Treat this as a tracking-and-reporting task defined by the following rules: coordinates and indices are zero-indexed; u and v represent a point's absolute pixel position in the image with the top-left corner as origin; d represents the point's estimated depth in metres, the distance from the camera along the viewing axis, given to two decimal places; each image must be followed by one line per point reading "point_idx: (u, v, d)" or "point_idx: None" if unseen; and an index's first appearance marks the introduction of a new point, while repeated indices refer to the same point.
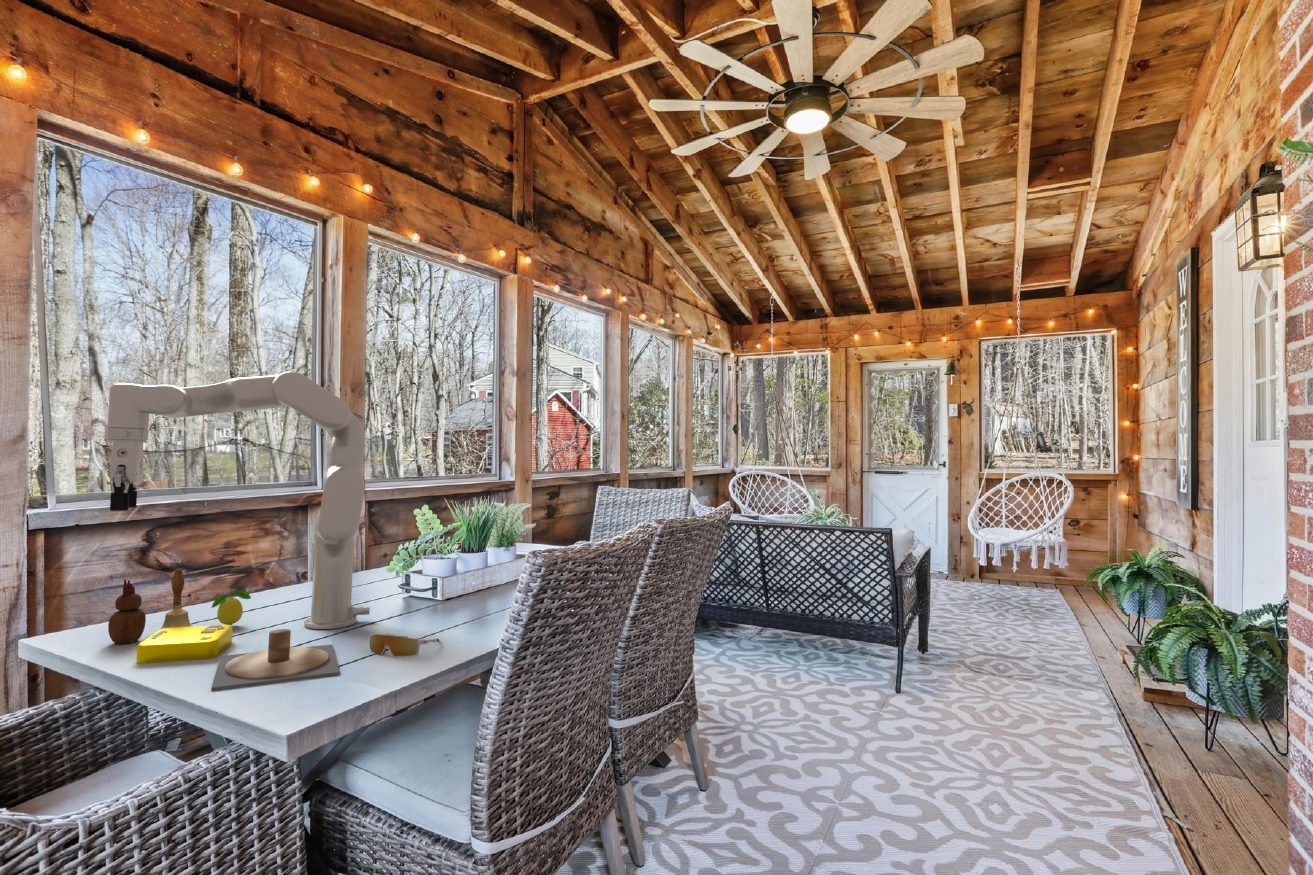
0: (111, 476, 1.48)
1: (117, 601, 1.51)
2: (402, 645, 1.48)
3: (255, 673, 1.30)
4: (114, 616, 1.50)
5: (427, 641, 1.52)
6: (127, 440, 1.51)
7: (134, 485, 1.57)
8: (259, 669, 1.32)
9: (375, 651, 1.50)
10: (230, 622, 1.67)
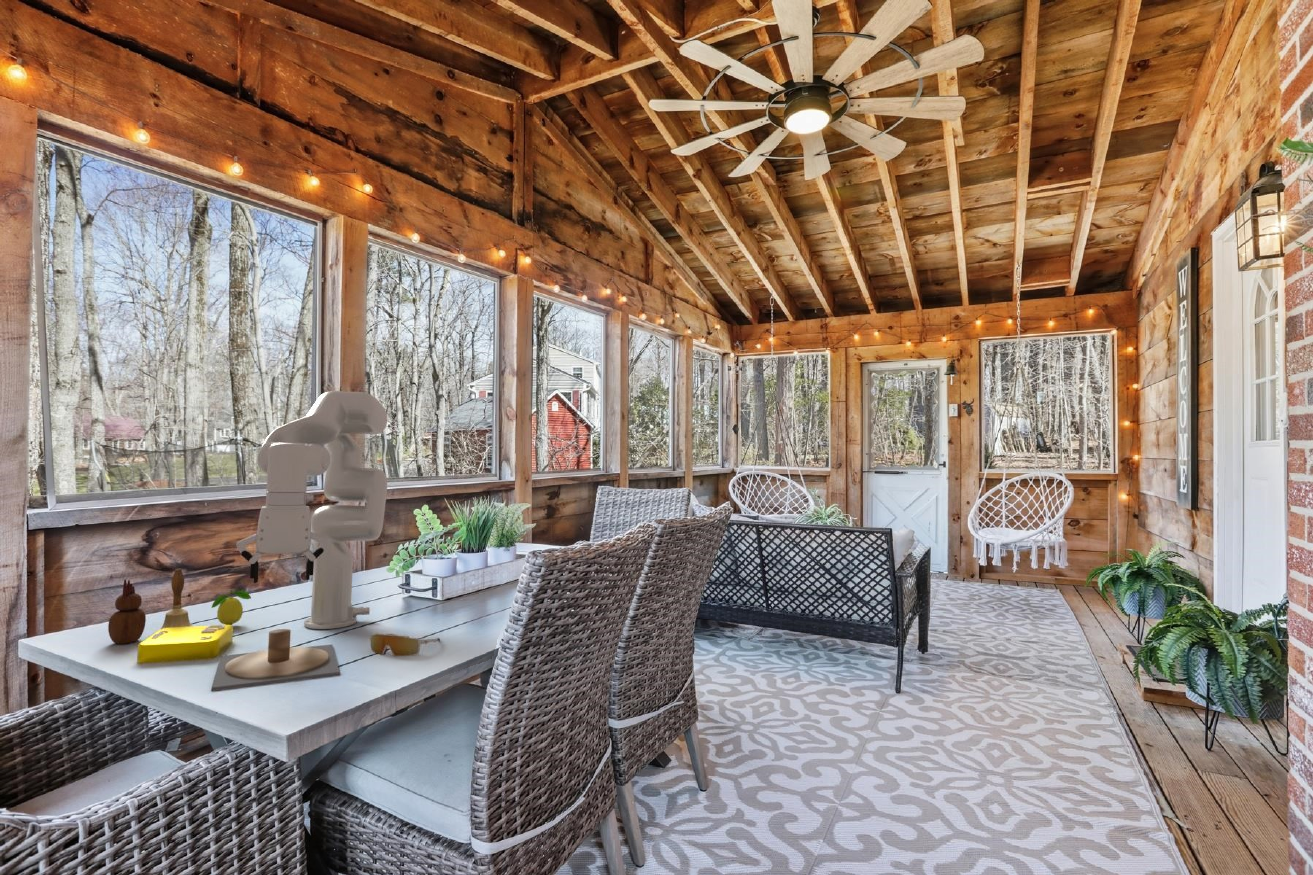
0: (309, 544, 1.41)
1: (117, 601, 1.51)
2: (403, 644, 1.49)
3: (255, 673, 1.30)
4: (114, 616, 1.50)
5: (428, 641, 1.53)
6: (305, 504, 1.42)
7: None
8: (259, 669, 1.32)
9: (376, 651, 1.50)
10: (230, 622, 1.67)
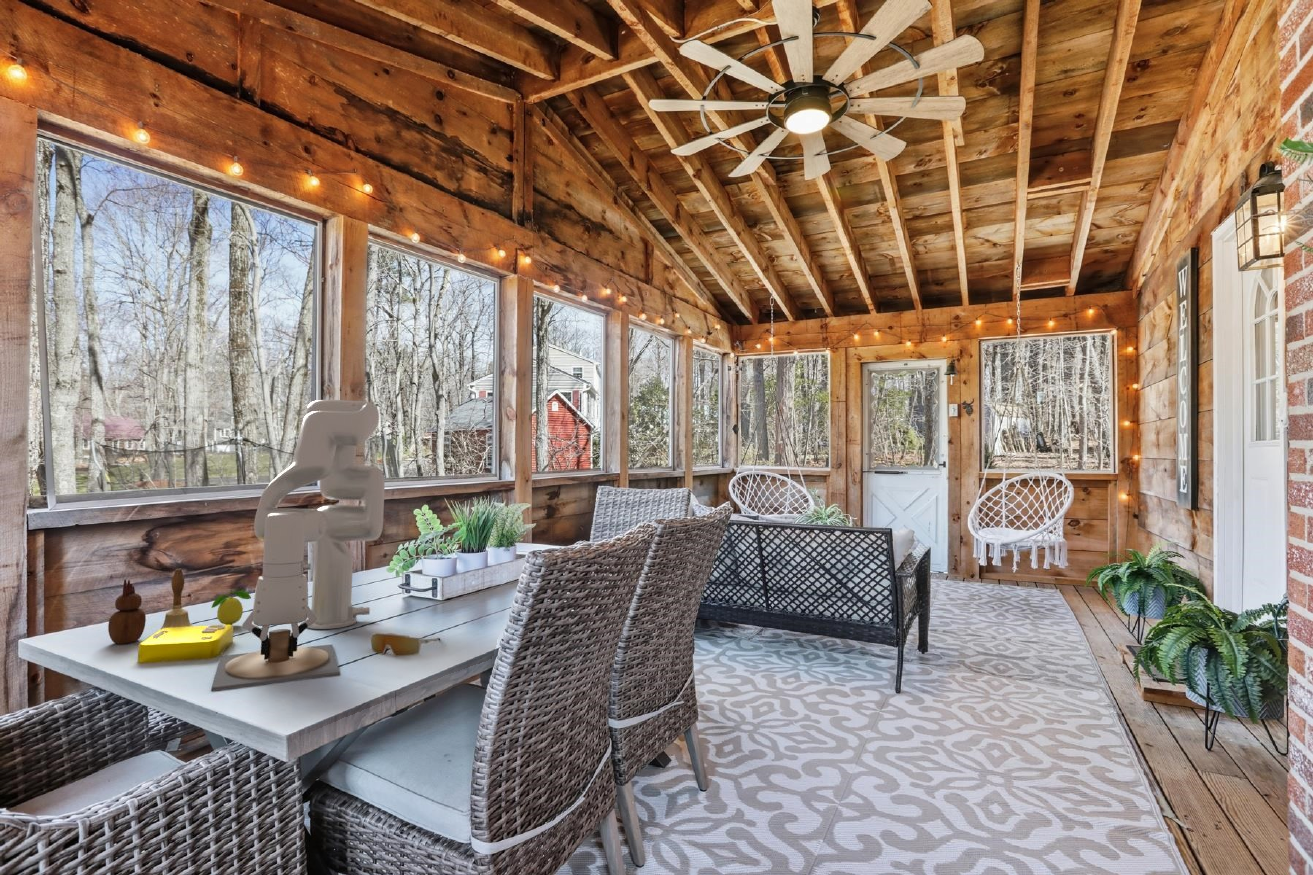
0: (306, 613, 1.40)
1: (117, 601, 1.51)
2: (404, 644, 1.49)
3: (255, 673, 1.30)
4: (114, 616, 1.50)
5: (428, 640, 1.53)
6: None
7: None
8: (259, 669, 1.32)
9: (376, 650, 1.50)
10: (230, 622, 1.67)
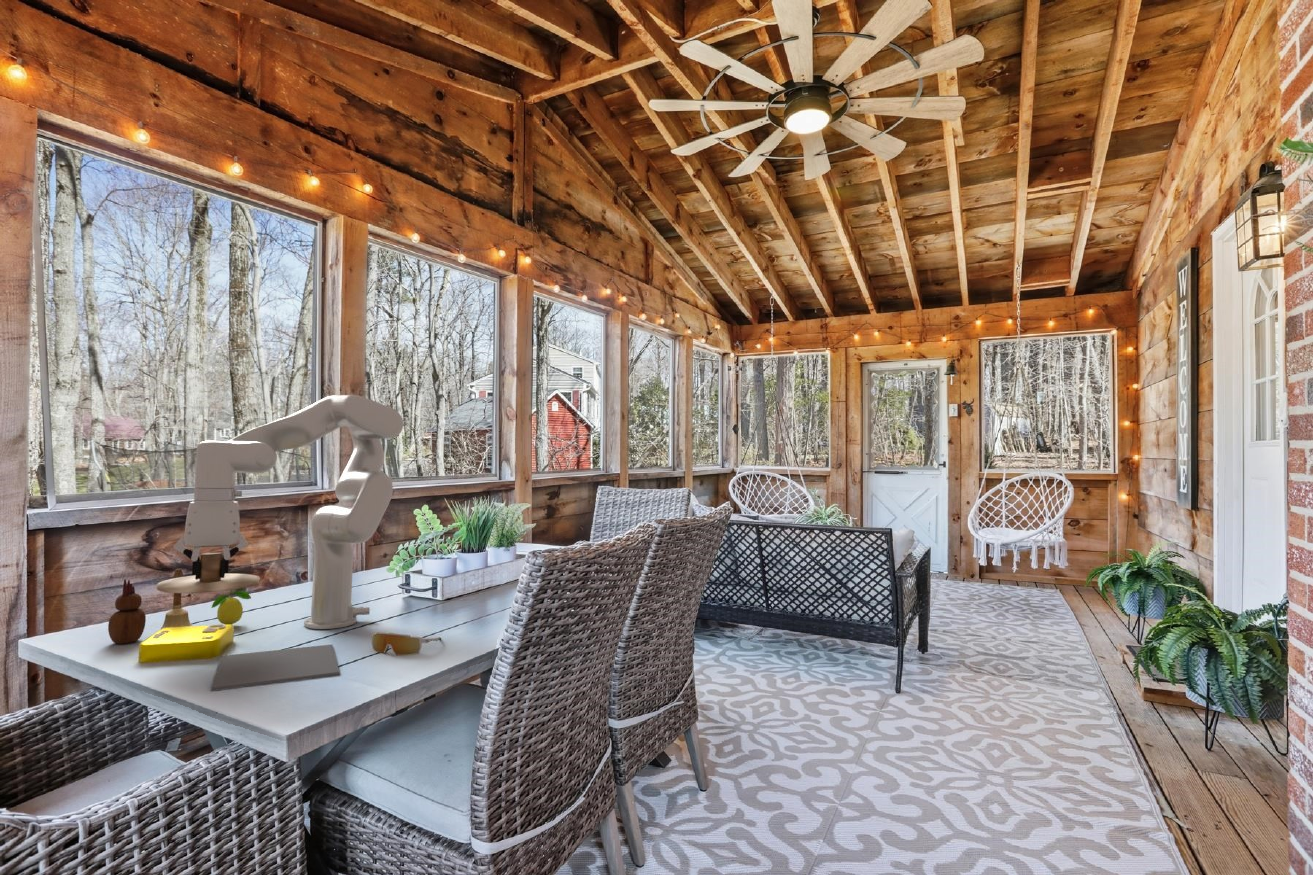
0: (237, 537, 1.47)
1: (117, 601, 1.51)
2: (404, 643, 1.49)
3: (185, 588, 1.37)
4: (114, 616, 1.50)
5: (429, 640, 1.53)
6: None
7: None
8: (189, 586, 1.39)
9: (377, 650, 1.51)
10: (230, 622, 1.67)
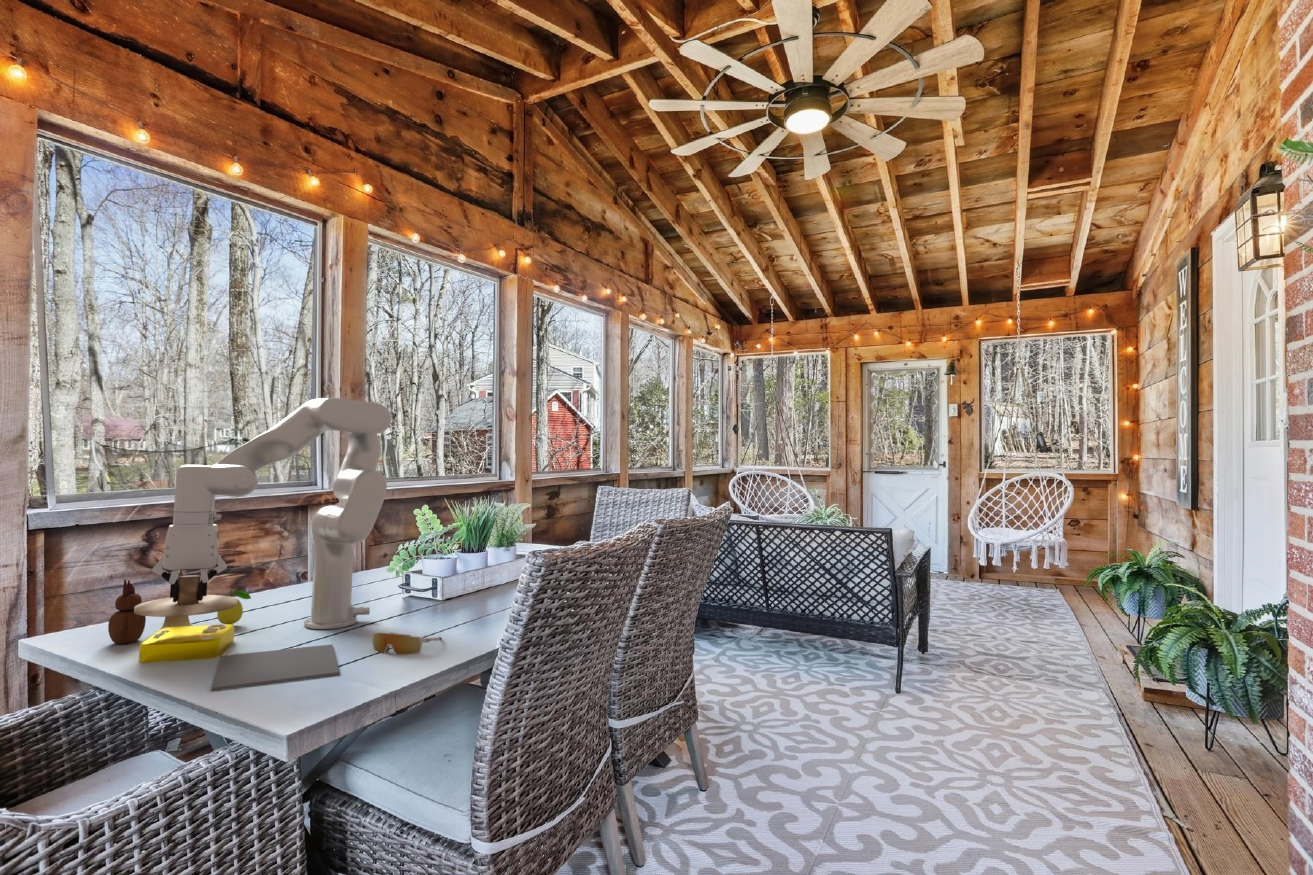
0: (215, 560, 1.49)
1: (117, 601, 1.51)
2: (405, 643, 1.50)
3: (160, 612, 1.38)
4: (114, 616, 1.50)
5: (429, 639, 1.53)
6: None
7: (178, 573, 1.47)
8: (165, 609, 1.41)
9: (378, 649, 1.51)
10: (230, 622, 1.67)
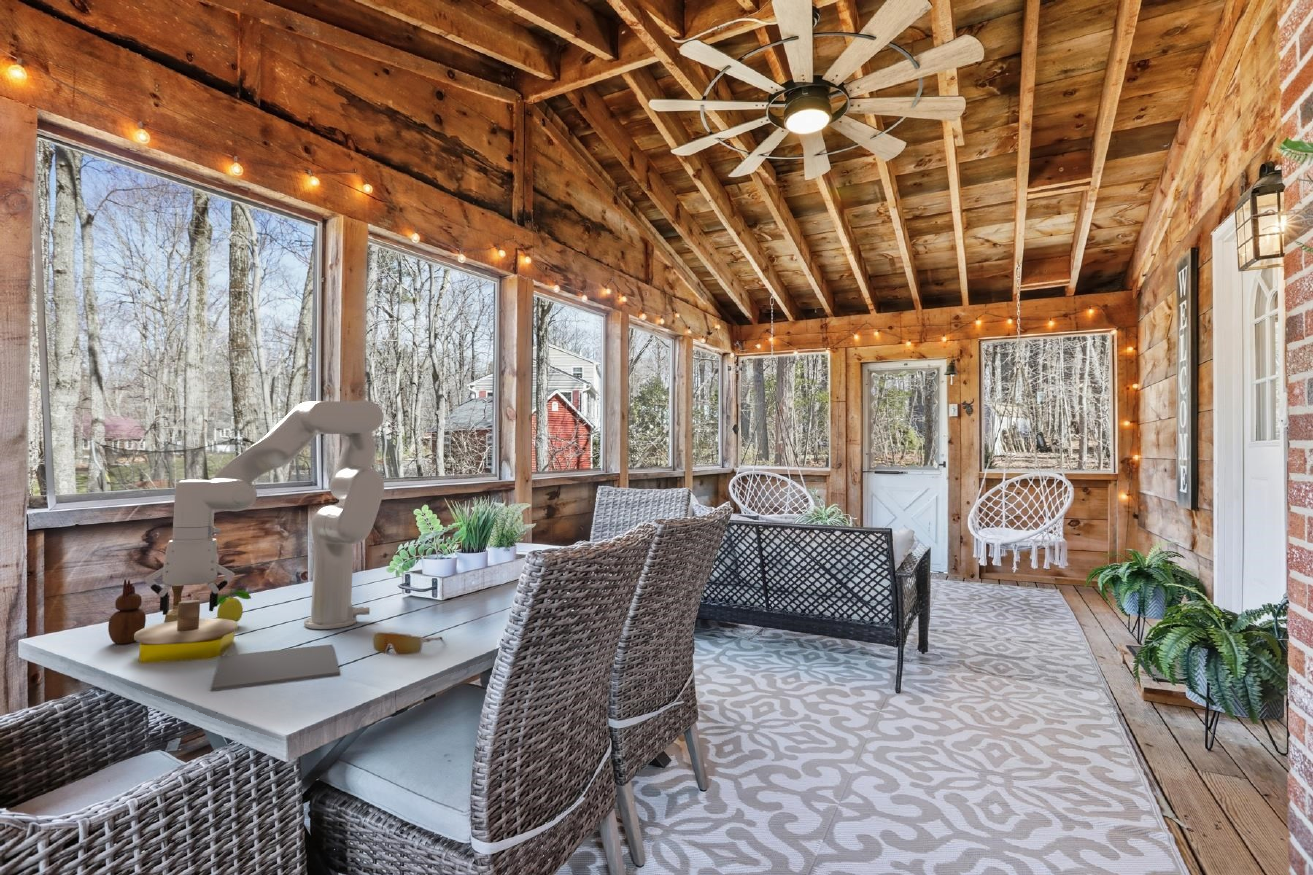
0: (215, 575, 1.49)
1: (117, 601, 1.51)
2: (405, 643, 1.50)
3: (160, 639, 1.39)
4: (114, 616, 1.50)
5: (430, 639, 1.54)
6: (212, 537, 1.50)
7: None
8: (165, 636, 1.41)
9: (379, 649, 1.51)
10: None
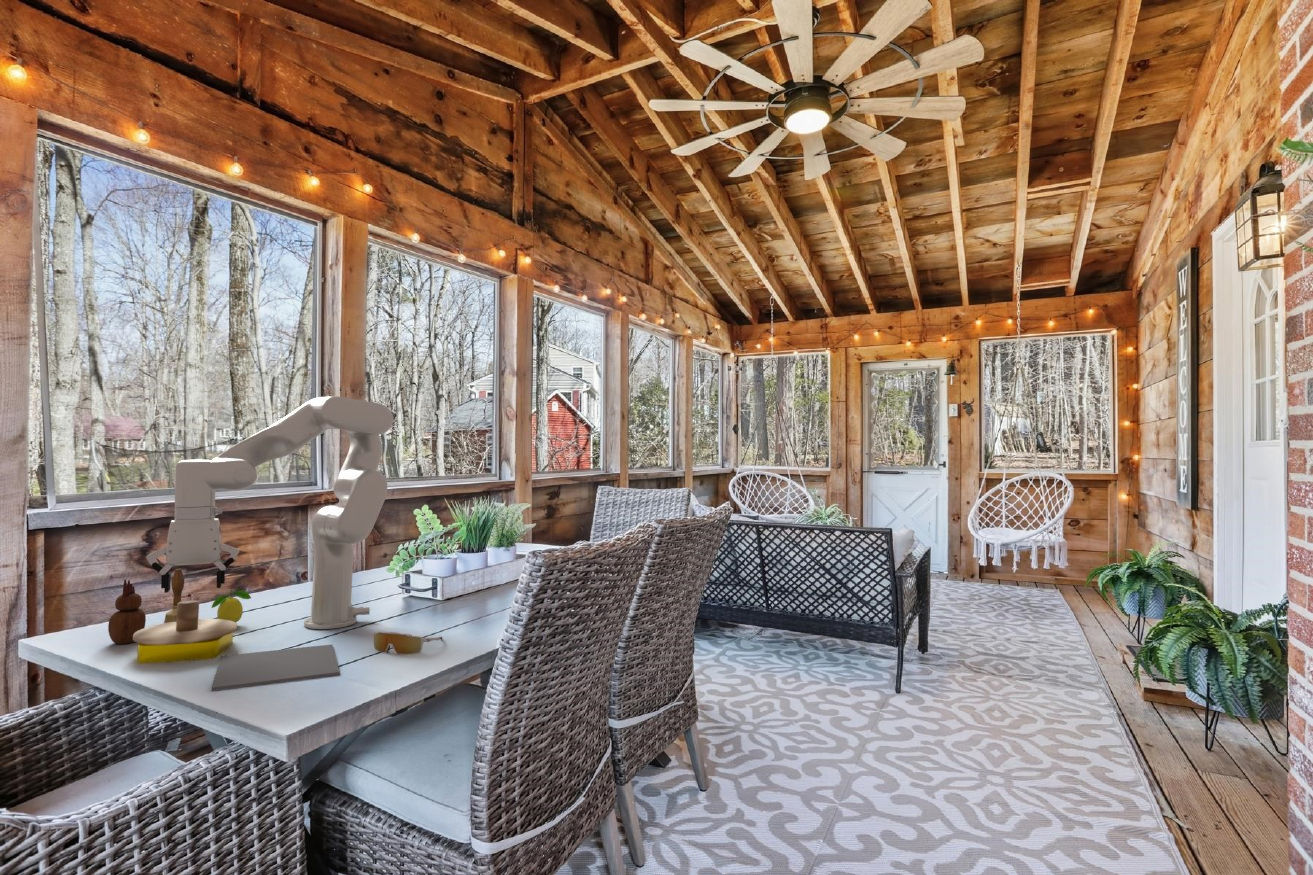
0: (219, 554, 1.49)
1: (117, 601, 1.51)
2: (406, 643, 1.50)
3: (159, 640, 1.38)
4: (114, 616, 1.50)
5: (430, 639, 1.54)
6: None
7: None
8: (165, 636, 1.41)
9: (379, 649, 1.51)
10: None
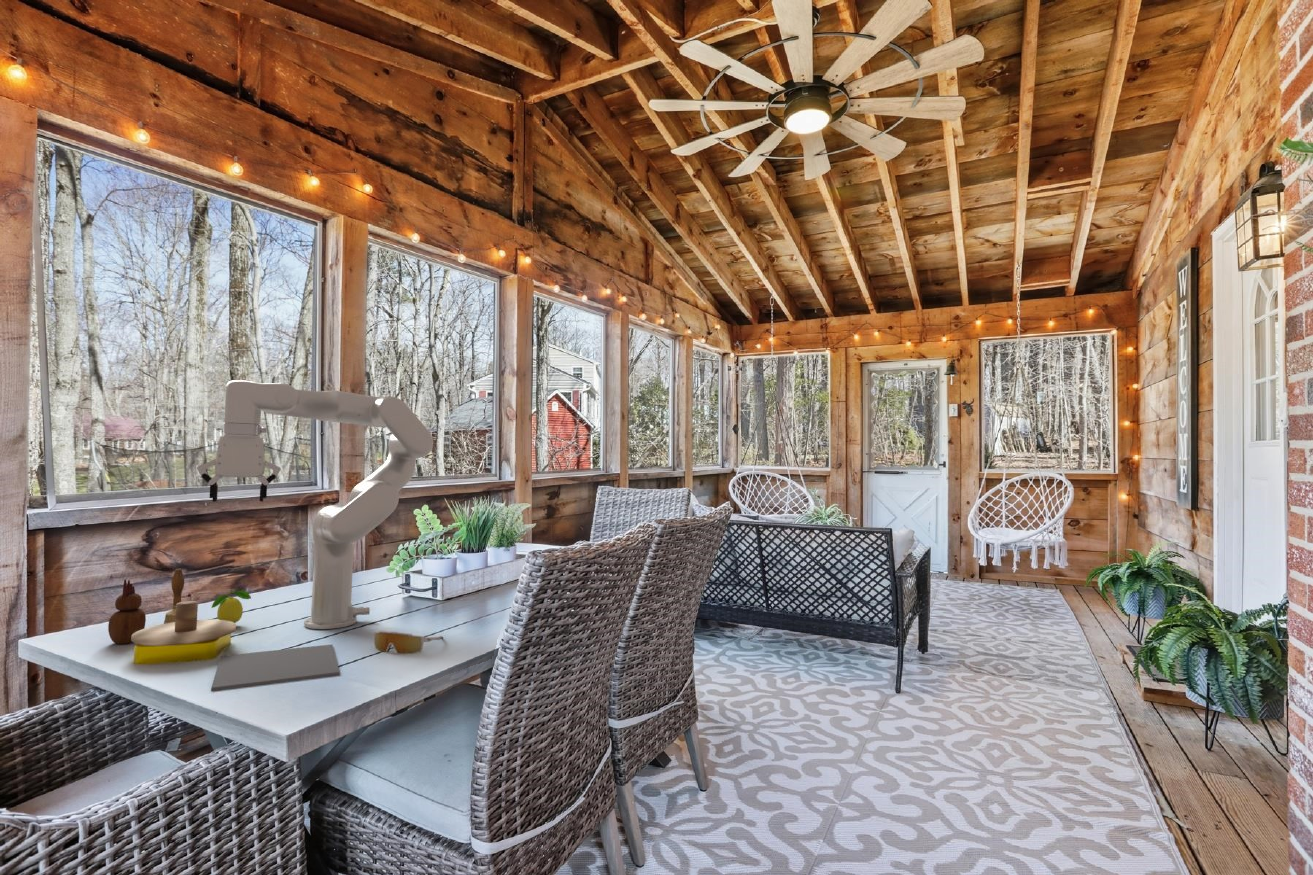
0: (263, 469, 1.60)
1: (117, 601, 1.51)
2: (406, 642, 1.50)
3: (157, 640, 1.37)
4: (114, 616, 1.50)
5: (431, 639, 1.54)
6: (259, 436, 1.62)
7: None
8: (162, 637, 1.40)
9: (380, 648, 1.52)
10: None
